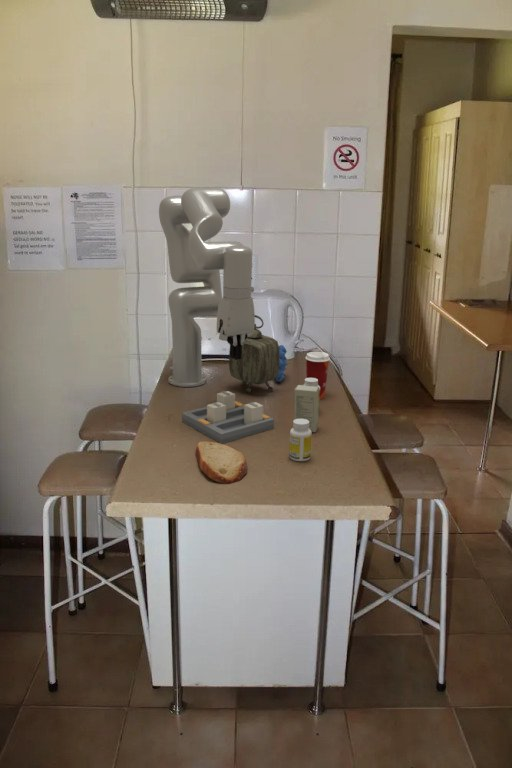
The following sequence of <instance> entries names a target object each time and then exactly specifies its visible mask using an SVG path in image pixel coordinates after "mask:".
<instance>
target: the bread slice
mask: <svg viewBox="0 0 512 768" xmlns="http://www.w3.org/2000/svg"><path fill="white" fill-rule="evenodd" d="M195 457H196V460H197V463H198V466H199V469H200V471H201V472H203V473H204V474H205V475H206V476H207V477H208V478H209V479H210V480H212V481H214V482H216V483H219V484H223V485H231V484H235V483H238V482H240V481H241V480H242V479H243V477H244V476H245V475H246V474H247V472H248V464H247V461H246V458H245V455H244V454H243V453H242V452H241V451H239V450H236V449H234V448H233V447H232V446H230V445H227V444H225V443H222V444H221V443H219V442H217V441H216V442H215V441H204V440H203V441H199V442H198V443H197V445H196V448H195Z"/></svg>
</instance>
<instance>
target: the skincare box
mask: <svg viewBox="0 0 512 768" xmlns="http://www.w3.org/2000/svg"><path fill="white" fill-rule="evenodd" d="M293 393H294V396H293V397H294V399H293V401H294V405H293V407H294V411H293V412H294V415H293V416H294V417H293V421H294V420H295V419H306V420H308V421H309V429H310V430H311V433H316V432H317V430H318V428H319V412H318V409H319V410H320V402H319V387H317V386H305V385H304V384H298V385H297V386H296V387H294V392H293Z"/></svg>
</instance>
